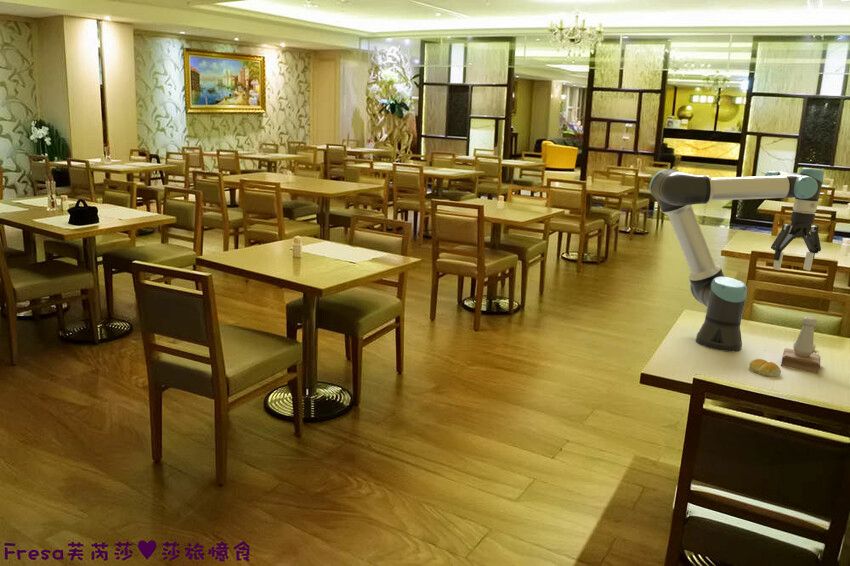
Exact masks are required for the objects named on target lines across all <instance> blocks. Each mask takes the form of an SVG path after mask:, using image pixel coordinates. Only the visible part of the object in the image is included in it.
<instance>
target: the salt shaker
mask: <svg viewBox="0 0 850 566" xmlns="http://www.w3.org/2000/svg"><path fill="white" fill-rule="evenodd" d="M801 322H802V324H803V325H802V327H801V329H800V332H799V333H798V337H797V338H796V340H797V341H796V340H795V341H796V343H795V345H794V347H793V349H794V351H795V354H796V355H798V356H801V357H809V356H810V355H811V354H812V353H813V352H814V351H813V344H814V339H815V338H814V335H815V330H814V329H815V327H816V326H817V323H818V320H817V319H816V318H814V317H812V316H805V317H803V318H802V321H801Z"/></svg>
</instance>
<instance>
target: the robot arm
mask: <svg viewBox="0 0 850 566" xmlns="http://www.w3.org/2000/svg"><path fill="white" fill-rule="evenodd" d="M824 174H825V171H824V170H822V169H821V168H812V167H802V168H801V169H800V171H799V172H789V171H778V170H768V171H766V173H765V174H764V175H762V176H735V177H734V176H733V177H710V176H709V175H707V174H706V175H705V174H704V175H703V174H702V175H700V174H699V175H698V174H691V173H689V172H688V173H686V172H684V171H678V170H676V169H675V168H674V169H673V168H666V169H662V170H659V171H657V172H656V173H655V174H654V175H653V176H652V177H651V179H650V182H649V191H650V194H651V196H652V197H653V198H654V199H655V200H656V202H657V204H658V207H659V208H660V211H661V213H663V214H665V215H667V217H668V219H669V222H670V224H671V227H672V228H673V231H674V233H675V236H676V239H677V241H678V244H679V246H680V248H681V251H682V252H683V256H684V258H685V261H686V263H687V266H688V268H689V270H690V272H689V275H688V279H689V282H690V285H689V286H690V288H689V289H690V292H691V294H692V296H693V298H694V299H695V300H696V301H697V302H699V303H701V304H702V305H704V307H706V312H705V317H704V321H703V323H702V324H701V327H700V328H699V331H698V332H697V333H696V337H695V342H696V343H698V344H699V345H700V346H703V347H706V348H708V349H711V350H712V349H713V350H715V351H716V350H717V351H722V352H739V351H741V350H742V346H743V339H742V333H741V325H742V318H743V316H744V315H743V314H744V310H745V305H746V304H745V303H746V300H747V297H748V294H747V292H748V286H747V285H746V284H745V283H744V282H743V281H741V280H739V279H736V278H734V277H728V276H725V275H724V272H723V270H722V267H721V265H719V264H716V263H715V261H714V259H713V257H712V254H711V251H710V248H709V246H708V244H707V242H706V239H705V236H704V234H703V232H702V231H703V230H702V229H701V226H700V224H699V221H698V218H697V215H696V214H695V211H694V209H693V207H692V206H693V205H704V204H705V205H707V204H708V203H710V201H730V200H731V201H732V200H733V201H735V200H759V199H760V200H761V199H762V200H763V199H764V200H765V199H791V198H792V199H794V201H793V205H792V210H793V211H792V212H791V214H790V215H791V216H790V224H788V223H787V224H786V223H783V224H782V228H781V230H780V232H779V233H778V234H777V236H776V237H775V239H774V241H773V243H772V244H771V246H770V249H771V250H773V251H774V256H773V261H774V262H773V265H772V269H774V270H777V271H781V268H782V267H781V266H782V263H783V257H784V252H783V251H784V250H785V248H786V247H788V246H789V244H790V243H791V242H792V241H793V240H795V239H799V238H800V239H803V241H804V244H805V247H806V248H807V250H808V251H806V254H805V257H804V263H803V268H802V269H803V270H806V271H811V269H812V265H813V262H814V261H815V256H816V254H819V252H821V251H822V247H821V242H820V235H819V226H817V225H813V224H814V223H815V218H816V214H815V213H816V212H817V207H818V204H819V199H820V194H821V190H822V187H823V184H824Z"/></svg>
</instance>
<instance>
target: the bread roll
mask: <svg viewBox="0 0 850 566" xmlns="http://www.w3.org/2000/svg"><path fill="white" fill-rule="evenodd" d="M749 369H750V371H751V372H753V373H755V374H759V375H760V376H764V377H769V378H775V377H776V378H777V377H779V376H781V372H782V371H781V368H780V366H779V365H778V364H777V363H775V362H772V361H767V360H766V359H761V358H757V359H753V360H752V361H751V362H750V363H749Z"/></svg>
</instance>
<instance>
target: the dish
mask: <svg viewBox="0 0 850 566" xmlns="http://www.w3.org/2000/svg"><path fill="white" fill-rule="evenodd" d="M796 341H797V339H796V340H794V341H793V345H795V343H796ZM793 345H792V346H793ZM816 346H817V345H816V344H815V343H813V350H814V349H815V350H816Z"/></svg>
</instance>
